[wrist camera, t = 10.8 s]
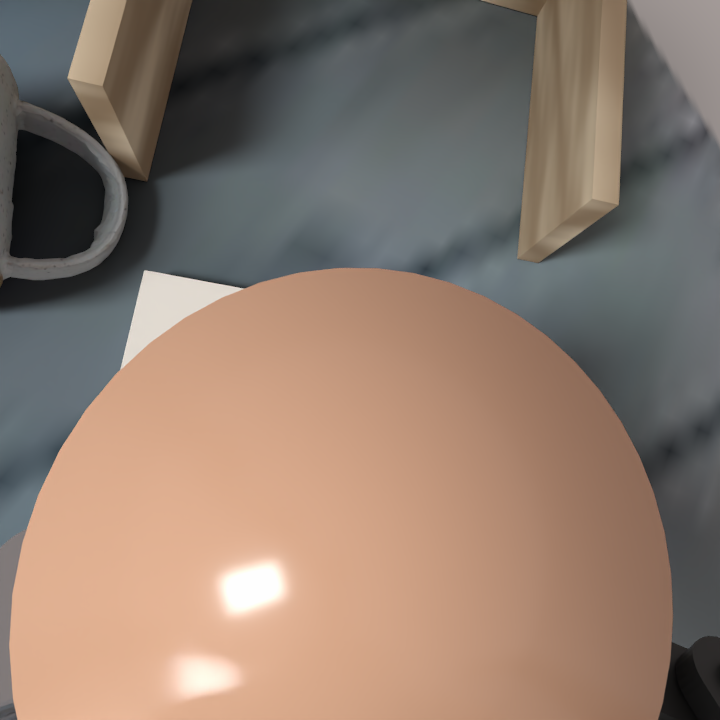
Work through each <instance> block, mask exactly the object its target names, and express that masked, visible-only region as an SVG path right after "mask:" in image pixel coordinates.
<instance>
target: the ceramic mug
mask: <svg viewBox="0 0 720 720" xmlns="http://www.w3.org/2000/svg"><path fill="white" fill-rule="evenodd" d="M18 130H26V131H28V132H31V133H34V134H36V135H39V136H42V137H44V138H46V139H49V140H51V141H53V142H55V143H58V144H60V145H62V146H63V147H65V148H67V149H69V150H71V151H72V152H74V153H76V154H78V155H79V156H80V157H82V158H83V159H84V160H85V161H87V162H88V163H89V164H90V165H91V166H93V168H94V169H95V170H96V171H97V172H98V173H99V174H100V176H101V178H102V181H103V185H104V187H105V199H104V211H103V217H102V221H101V224H100V225H99V226H98V227H97V228H96V229H95V230H94V240H95V241H94V242H93V243H92V244H91V248H90V249H88V250H86V251H84V252H81V253H78V254H75V255H72V256H69V257H67V258H53V259H31V258H16V257H12V256H11V255H10V254H9V251H10V243H11V239H12V233H11V231H12V216H13V207H14V206H13V203H12V193H13V184H14V172H15V167H16V151H17V148H16V145H17V135H18ZM127 211H128V193H127V187H126V182H125V178H124V176H123V174H122V172H121V170H120V168H119V166H118V164H117V163H116V162H115V160H114V159H113V158H112V156H111V155H110V154H109V153H108V152H107V151H106V150H105V149H104V148H103V147H102V146H101V145H100V144H99V143H98V142H97V141H96V140H95V139H94V138H92V137H91V136H90V135H88V134H87V133H86V132H85V131H83V130H82V129H80V128H79V127H77V126H75V125H74V124H72V123H71V122H69V121H67V120H66V119H64V118H62V117H60V116H58V115H56V114H53V113H51V112H49V111H46V110H44V109H42V108H40V107H37V106H34V105H32V104H30V103H27V102H24V101H21V100H19V93H18V87H17V84H16V81H15V79H14V77H13V75H12V72H11V69H10V67H9V66H8V64H7V62H6V61H5V59H4V58H3V57H2V56H1V55H0V288H1V285H2V282H3V280H4V279H6V278H8V277H15V278H22V279H29V280H48V279H56V278H64V277H71V276H75V275H78V274H80V273H83V272H86V271H89V270H90V269H92V268H94V267H96V266H98V265H99V264H100V263H101V262H102V261H103V260H105V259H106V258H107V257H108V256H109V255H110V253H111V252H112V250H113V249H114V248H115V246H116V244H117V243H118V241H119V239H120V236H121V234H122V232H123V229H124V225H125V221H126V217H127Z"/></svg>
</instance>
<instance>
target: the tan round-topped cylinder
mask: <svg viewBox="0 0 720 720" xmlns="http://www.w3.org/2000/svg"><path fill="white" fill-rule="evenodd" d="M672 625H673V604H672V582H671V570H670V564H669V557H668V551H667V544H666V538H665V532H664V528H663V525H662V521H661V517H660V514H659V510H658V506H657V503H656V499H655V495H654V492H653V490H652V487H651V484H650V482H649V479H648V477H647V474H646V472H645V469H644V467H643V464H642V462H641V459H640V457H639V455H638V453H637V451H636V449H635V447H634V445H633V443H632V441H631V439H630V438H629V436H628V434H627V432H626V430H625V428H624V426H623V424H622V422H621V421H620V419H619V418H618V416H617V415H616V413H615V412H614V411H613V409H612V408H611V406H610V405H609V403H608V402H607V400H606V399H605V397H604V396H603V394H602V393H601V391H600V390H599V389H598V388H597V387H596V385H595V384H594V383H593V382H592V381H591V380H590V378H589V377H588V376H587V375H586V374H585V373H584V371H583V370H582V369H581V368H580V367H579V366H578V365H577V363H576V362H575V361H574V360H573V359H572V358H571V357H569V356H568V355H567V354H566V353H565V352H564V351H563V350H562V349H561V348H560V347H559V346H557V345H556V344H555V343H554V342H553V341H552V340H551V339H550V338H549V337H548V336H546V335H545V334H544V333H542V332H541V331H539V330H538V329H537V328H535V327H534V326H532V325H531V324H530V323H528V322H527V321H525V320H524V319H523V318H521V317H520V316H518V315H517V314H515V313H514V312H512V311H510V310H508V309H506V308H504V307H503V306H501V305H499V304H497V303H495V302H494V301H492V300H490V299H488V298H486V297H484V296H482V295H479V294H477V293H474V292H472V291H469V290H467V289H464V288H462V287H459V286H457V285H454V284H452V283H449V282H445V281H442V280H438V279H434V278H430V277H426V276H422V275H419V274H415V273H408V272H401V271H393V270H386V269H378V268H334V269H326V270H318V271H310V272H301V273H296V274H292V275H288V276H284V277H280V278H276V279H272V280H268V281H265V282H261V283H258V284H255V285H253V286H250V287H248V288H245V289H243V290H240V291H237V292H235V293H232V294H230V295H227V296H225V297H222V298H220V299H218V300H217V301H215V302H213V303H211V304H209V305H207V306H206V307H204V308H202V309H200V310H198V311H196V312H195V313H193V314H191V315H189V316H187V317H185V318H184V319H182V320H181V321H180V322H178V323H177V324H175V325H174V326H173V327H171V328H170V329H169V330H167V331H166V332H164V333H163V334H162V335H160V336H159V337H157V338H156V339H155V340H153V341H152V342H150V343H149V344H148V345H147V346H146V347H145V348H144V349H143V350H142V351H140V352H139V353H138V354H137V355H136V356H135V357H134V358H133V359H132V360H131V361H130V362H129V363H128V364H126V365H125V366H124V367H123V368H122V369H121V370H120V371H119V372H118V373H117V374H116V375H115V376H114V377H113V378H112V380H111V381H110V382H109V383H108V384H107V386H106V387H105V388H104V389H103V390H102V391H101V393H100V394H99V395H98V396H97V397H96V399H95V400H94V401H93V402H92V403H91V405H90V406H89V407H88V408H87V409H86V411H85V412H84V414H83V415H82V417H81V418H80V420H79V422H78V423H77V425H76V426H75V428H74V429H73V431H72V432H71V434H70V435H69V437H68V439H67V440H66V442H65V443H64V445H63V446H62V448H61V449H60V451H59V453H58V455H57V457H56V459H55V462H54V464H53V466H52V468H51V470H50V472H49V474H48V476H47V478H46V480H45V482H44V484H43V486H42V488H41V491H40V493H39V495H38V498H37V501H36V504H35V507H34V510H33V513H32V516H31V519H30V522H29V525H28V528H27V531H26V534H25V537H24V540H23V543H22V548H21V553H20V558H19V563H18V568H17V573H16V578H15V583H14V588H13V593H12V609H11V625H10V641H9V650H10V664H11V678H12V692H13V701H14V706H15V710H16V715H17V720H658V717H659V714H660V711H661V707H662V704H663V699H664V693H665V687H666V682H667V676H668V670H669V664H670V657H671V641H672Z"/></svg>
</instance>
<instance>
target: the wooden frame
mask: <svg viewBox="0 0 720 720" xmlns="http://www.w3.org/2000/svg"><path fill="white" fill-rule="evenodd" d="M481 1H485V2H488V3H492V4H496V5H499V6H503V7H506V8H510V9H514V10H517V11H521V12H524V13H528V14H532V15H535V16H537V27H536V39H535V51H534V63H533V75H532V87H531V100H530V112H529V124H528V136H527V148H526V160H525V173H524V185H523V197H522V209H521V221H520V233H519V245H518V258H517V259H521V260H526V261H531V262H536V263H539V262H540V261H542V260H543V259H545V258H546V257H547V256H549V255H550V254H551V253H553V252H554V251H556V250H557V249H558V248H560V247H561V246H563V245H564V244H565V243H567V242H568V241H569V240H571V239H572V238H574V237H575V236H576V235H578V234H579V233H581V232H582V231H583V230H585V229H586V228H587V227H589V226H590V225H592V224H593V223H594V222H596V221H597V220H599V219H600V218H601V217H603V216H604V215H605V214H607V213H608V212H610V211H611V210H612V209H614V208H615V207H617V206H618V205H619V188H620V163H621V138H622V113H623V88H624V63H625V37H626V12H627V0H481ZM191 3H192V0H90V4H89V7H88V10H87V14H86V17H85V21H84V24H83V27H82V31H81V34H80V37H79V41H78V44H77V47H76V51H75V54H74V58H73V61H72V64H71V68H70V71H69V74H68V80H69V82H70V84H71V86H72V87H73V89H74V91H75V93H76V95H77V97H78V98H79V100H80V102H81V104H82V106H83V107H84V109H85V111H86V113H87V115H88V116H89V118H90V120H91V122H92V124H93V126H94V127H95V129H96V131H97V133H98V135H99V136H100V138H101V140H102V142H103V144H104V146H105V147H106V149H107V151H108V153H109V154H110V155H111V156H112V158H113V159H114V160H115V162H116V163H117V164H118V166H119V168H120V170H121V172H122V174H123V176H124V177H127V178H132V179H137V180H142V181H146V182H147V180H148V176H149V172H150V168H151V164H152V160H153V156H154V152H155V148H156V144H157V140H158V136H159V132H160V128H161V124H162V120H163V116H164V112H165V108H166V104H167V100H168V96H169V92H170V88H171V84H172V80H173V76H174V72H175V68H176V64H177V60H178V56H179V52H180V48H181V44H182V40H183V36H184V32H185V27H186V23H187V19H188V15H189V11H190V7H191Z"/></svg>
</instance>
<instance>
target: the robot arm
mask: <svg viewBox="0 0 720 720" xmlns="http://www.w3.org/2000/svg"><path fill="white" fill-rule="evenodd" d="M26 531H27V529H26V530H24V531H22V532H20V533H18V534H17V535H15V536H14V537H12V538H11V539H10V540H8V541H7V542H6V543H5V544H4V545H3V546H2V547H1V548H0V720H17V715H16V710H15V706H14V701H13V692H12V678H11V664H10V650H9V641H10V625H11V609H12V593H13V588H14V583H15V578H16V573H17V568H18V563H19V558H20V553H21V548H22V543H23V540H24V537H25V534H26ZM658 720H720V638H718V637H713V636H707V637H702V638H701V639H699V640H698V641H696V642H695V643H694V644H693V645H692V646H691V647H690V648H689V649H686V648H684V647H682V646H679V645H677V644H675V643H672V642H671V657H670V664H669V670H668V676H667V682H666V687H665V693H664V699H663V704H662V707H661V711H660V714H659V717H658Z"/></svg>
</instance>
